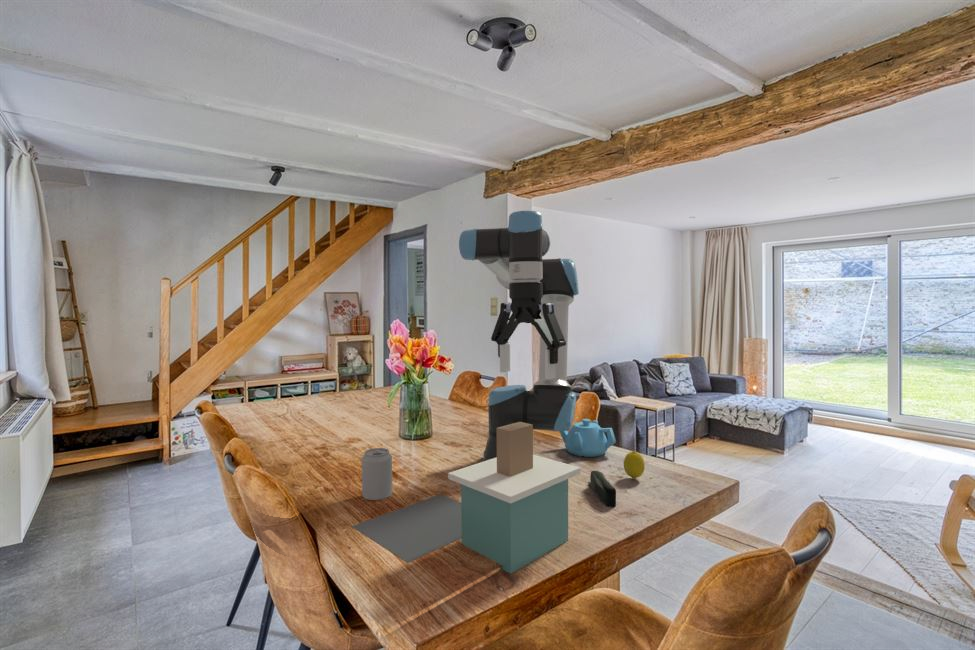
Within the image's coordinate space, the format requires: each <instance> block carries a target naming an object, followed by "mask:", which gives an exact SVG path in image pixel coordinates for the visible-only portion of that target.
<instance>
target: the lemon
mask: <svg viewBox="0 0 975 650" xmlns="http://www.w3.org/2000/svg"><path fill="white" fill-rule="evenodd" d="M645 465H646V463H645V460H644V457H643V456H642V455H641V454H640V453H639V452H638V451H636V450H632V451H630V452H628V453H627V454H626V455H625V457H624V460H623V469H624V472H625V473H626V475H628V477H630V478H631V479H633V480H636V479H637V478H640V477H641V476H642V475H643V474H644V473H645Z"/></svg>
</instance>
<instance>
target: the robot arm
mask: <svg viewBox="0 0 975 650" xmlns="http://www.w3.org/2000/svg"><path fill="white" fill-rule="evenodd" d="M543 225H544V223H543V216H542V213H540V211H538V210H537V211H536V210H518V211H514V212H511V213H510V214H509V216H508V223H507V227H503V228H502V227H501V228H499V227H497V228H473V229H466V230H463V231H461V232H460V235H459V241H458V248H459V249H458V250H459V254H460V256H461V257H462V259H464V260H465V261H467V260H468V261H476V260H478V261H479V262H480V263H481V264H483V265H484V266H485V267H486V268H487V269H488V270H489V271H491V272H492V274H494V275H495V277H496V279H497V282H498V283H499V284H500V285H501V286H502V287H504V288H505V289H506V290H507V289H508V291H509V292H508V295H509V296H508V297H509V298H510V299H511V302H501V303H500V306H499V307H500V308H499V309H500V310H499V314H498V317H497V320H496V323H495V326H494V329H493V332H492V334H491V337H490V339H491V341H492V342H495V343H496V344H497V356H498V358H499V372H500V373H506V372H511V348H510V347H511V344H510V342H509V340H510V338H511V336H512V335H513V334H514V332H515V331H516V329H517V327H519V325H520V324H521V323H525V324H531V325H532V326H534V328H535V330H536V331H537V332H538V334H539V337H540V338H539V360H538V362H539V363H538V380H536V382H535V383H533V387H532V390H527V387H526V385H523V384H514V385H505V386H500V387H496V388H494V389H492V390H491V391H489V393H488V403H487V408H488V409H487V410H488V412H487V413H488V437H487V441H486V444H485V450H484V451H483V453H482V454H483V455H482V457H483V458H482V459H483V460H482V462H484V461H487V460H490V459H493V458H496V457H497V428H498V427H502V426H506V425H509V424H513V423H517V422H524V423H528V424H532V425H533V431H534V430H535V431H536V430H538V431H549V432H550V431H552V432H559V431H570V429H571V427H572V426H573V422H574V417H575V412H576V405H577V404H576V403H577V394H576V392H574V391H572V385H571V384H569V381H568V379H567V378H568V377H567V375H568V346H569V345H568V342H569V341H568V340H569V339H568V337H569V335H568V334H569V309H570V308H569V306H570V305H572V303H573V302H574V301H575V298H574V296H578V295H579V283H578V281H579V279H578V273H577V267H576V263H575V261H574V260H573V259H571V258H560V257H558V258H545V259H544V258H543V257H544V256H546V255H547V254H548V252H549V251H550V248H551V238H550V235H549V234H548V232H547V231H546V229H543Z"/></svg>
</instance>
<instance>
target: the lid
mask: <svg viewBox="0 0 975 650" xmlns="http://www.w3.org/2000/svg"><path fill="white" fill-rule="evenodd" d="M447 474H448V475H447V479H448V480H451V481H453V482H455V483H457V484H460V485H461V484H462V485H465V486H467V487H470V488H473V489H475V490H478V491H480V492H483V493H485V494H488V495H490V496H493V497H495V498H498V499H500V500H503V501H505V502H508V503H513V502H516V501H518V500H520V499H523V498H525V497H527V496H529V495H532V494H534V493H536V492H539V491H541V490H543V489H546V488H548V487H550V486H553V485H555V484H557V483H560V482H562V481H564V480H566V479H568V480H569V479H570V478H571V479H572V478H573V477H575V476H578V475H580V474H581V467H579V466H576V465H572V464H568V463H564V462H561V461H558V460H554V459H552V458H547V457H545V456H541V455H537V454H534V429H533V425H532V424H528V423H524V422H517V423H513V424H509V425H506V426H502V427H498V428H497V457H496V458H493V459H490V460H487V461H481V462H479V463H478V462H477V463H475V464H471V465H469V466H466V467H463V468H460V469H457V470H453V471H450V472H447Z"/></svg>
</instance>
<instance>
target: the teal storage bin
mask: <svg viewBox="0 0 975 650" xmlns="http://www.w3.org/2000/svg"><path fill="white" fill-rule="evenodd" d="M460 489H461V491H460V495H461V497H460V498H461V518H462V538H461V545H463V546H464V547H466V548H469V549H471V550H473V551H475V553H478V554H480V555H481V556H484V557H486V558H488V559H490V560H491V561H494V563H497V564H499V565H500V566H498V568H499V569H500V570H503V571H504V572H507V573H508V574H510V575H512V574H513V573H515V572H516V571H518V570H520V569H522V568H524V567H525V566H527V565H529V564H530V563H532V562H534V561H536V560H537V559H538V558H541V557H543V556H544V555H546V554H547V553H549V552H551V551H554V549H557V547H559V545H560V546H562V545H563V544H565V543H567V542H568V541H569V479H566V480H564V481H562V482H560V483H557V484H555V485H553V486H550V487H548V488H546V489H543V490H541V491H539V492H536V493H534V494H532V495H529V496H527V497H525V498H523V499H520V500H518V501H516V502H513V503H508V502H505V501H503V500H500V499H498V498H495V497H493V496H490V495H488V494H485V493H483V492H480V491H478V490H475V489H473V488H470V487H467V486H465V485H462V484H460ZM564 542H565V543H564Z"/></svg>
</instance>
